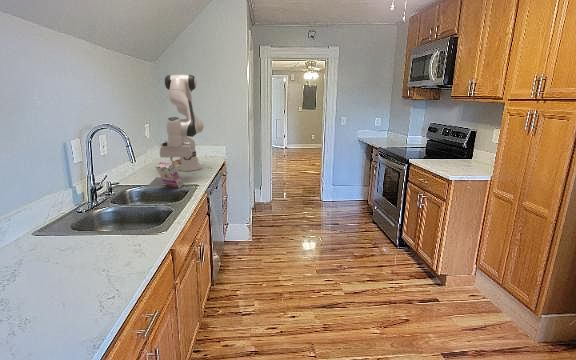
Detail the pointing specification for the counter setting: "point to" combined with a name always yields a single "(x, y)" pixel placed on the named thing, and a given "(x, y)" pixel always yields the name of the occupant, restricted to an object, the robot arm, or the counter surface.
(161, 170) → the candy bar box
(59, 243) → the counter surface
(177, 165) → the wooden handled scraper
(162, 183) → the mat
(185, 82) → the robot arm
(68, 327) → the counter surface
